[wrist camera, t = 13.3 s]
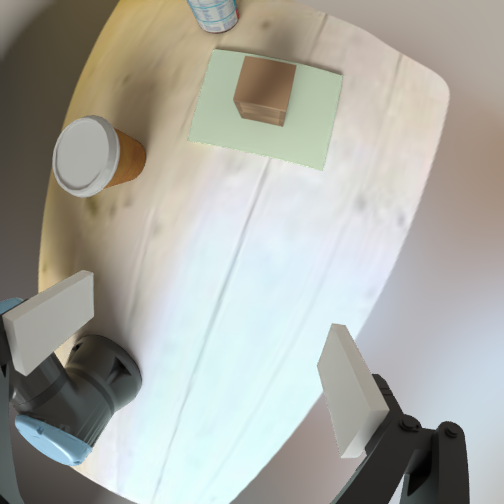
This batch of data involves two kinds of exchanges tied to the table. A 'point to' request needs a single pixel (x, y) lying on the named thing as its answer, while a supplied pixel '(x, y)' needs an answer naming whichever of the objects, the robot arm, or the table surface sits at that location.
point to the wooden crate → (264, 90)
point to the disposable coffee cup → (95, 157)
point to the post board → (263, 134)
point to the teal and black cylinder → (215, 14)
